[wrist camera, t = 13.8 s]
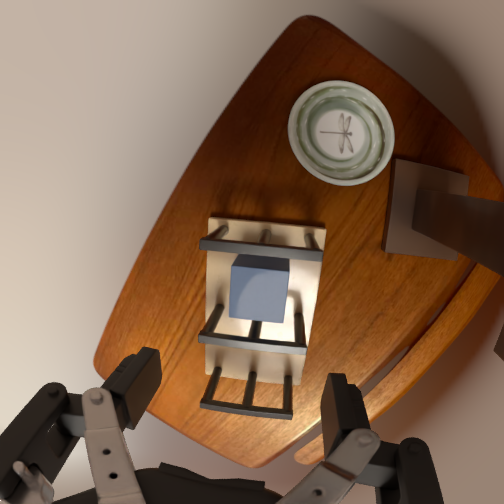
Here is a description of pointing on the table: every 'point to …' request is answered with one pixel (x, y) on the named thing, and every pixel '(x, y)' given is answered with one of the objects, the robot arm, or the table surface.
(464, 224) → the stand
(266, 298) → the block
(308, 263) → the rack
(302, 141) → the saucer
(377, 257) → the table surface
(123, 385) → the robot arm
